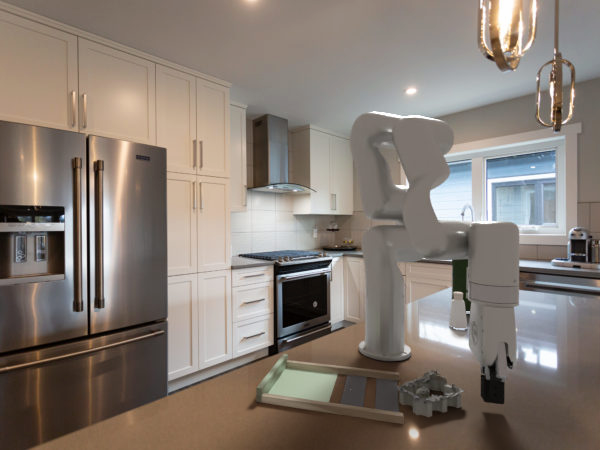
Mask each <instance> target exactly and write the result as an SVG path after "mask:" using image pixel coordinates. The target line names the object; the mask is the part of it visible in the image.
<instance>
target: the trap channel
mask: <svg viewBox="0 0 600 450" xmlns="http://www.w3.org/2000/svg"><path fill="white" fill-rule="evenodd" d="M288 355H289V354H287V353H283V354H282V355H281V357H280V358H279V359H278V360H277V361H276V363H275V364H274V365H273V367H271V369H270V370H269V371H268V373H267V374H266V375H265V376H264V377H263V379H262V380H261V381H260V383H259V384H258V385H257V387H256V388H255V389H256V390H255V391H256V400H255V401H256V403H261V404H262V403H263V404H270V405H275V406H280V407H281V406H282V407H289V408H293V409H294V408H296V409H299V410H301V409H302V410H307V411H315V412H321V413H326V414H327V413H329V414H332V415H333V414H335V415H341V416H347V417H354V418H360V419H366V420H367V419H368V420H374V421H379V422H380V421H381V422H388V423H393V424H401V425H404V412H400V411H399V412H392V411H385V410H378V409H375V408H369V407H364V406H363V407H357V406H350V405H343V404H340V403H335V402H330V401H329V402H323V401H316V400H309V399H302V398H295V397H288V396H281V395H274V394H268V393H269V391H270V390H271V388H272V387H273V386H274V384H275V383H276V381H277V380H278V379H279V377H280V376H281V374H282V373H283V371H284V370H285V369H286V367H290V368H298V369H306V370H315V371H323V372H331V373H338V375H346V376H347V375H356V376H365V377H367V378H371V379H372V378H373V379H374V378H375V379H377V378H381V379H390V380H397V382H398V381H400V377H401V375H400V372H395V371H387V370H380V369H371V368H370V369H369V368H360V367H352V366H351V367H350V366H344V365H343V366H342V365H335V364H326V363H319V362H318V363H317V362H308V361H301V360H300V361H299V360H290V359H289V356H288Z"/></svg>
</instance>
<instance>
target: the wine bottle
mask: <svg viewBox="0 0 600 450" xmlns="http://www.w3.org/2000/svg"><path fill="white" fill-rule="evenodd" d="M453 292H462V293H463V300H464V302H465V310H466V311H470V309H471V301H469V300H468V259H461V260H451V301H452V300H453V299H454V296H453V295H454V294H453Z"/></svg>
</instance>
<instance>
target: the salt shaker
mask: <svg viewBox="0 0 600 450" xmlns="http://www.w3.org/2000/svg"><path fill="white" fill-rule="evenodd" d="M453 294H454V295H453V296H454V299H453V300H452V299H451V303H450V312H449V321H448V326H449V325H450V326H452V327H455V328H466V327H467V328H468V322H467V321H468V320H467V315H466V310H465V302H464V300H463V293H462V292H453Z"/></svg>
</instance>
